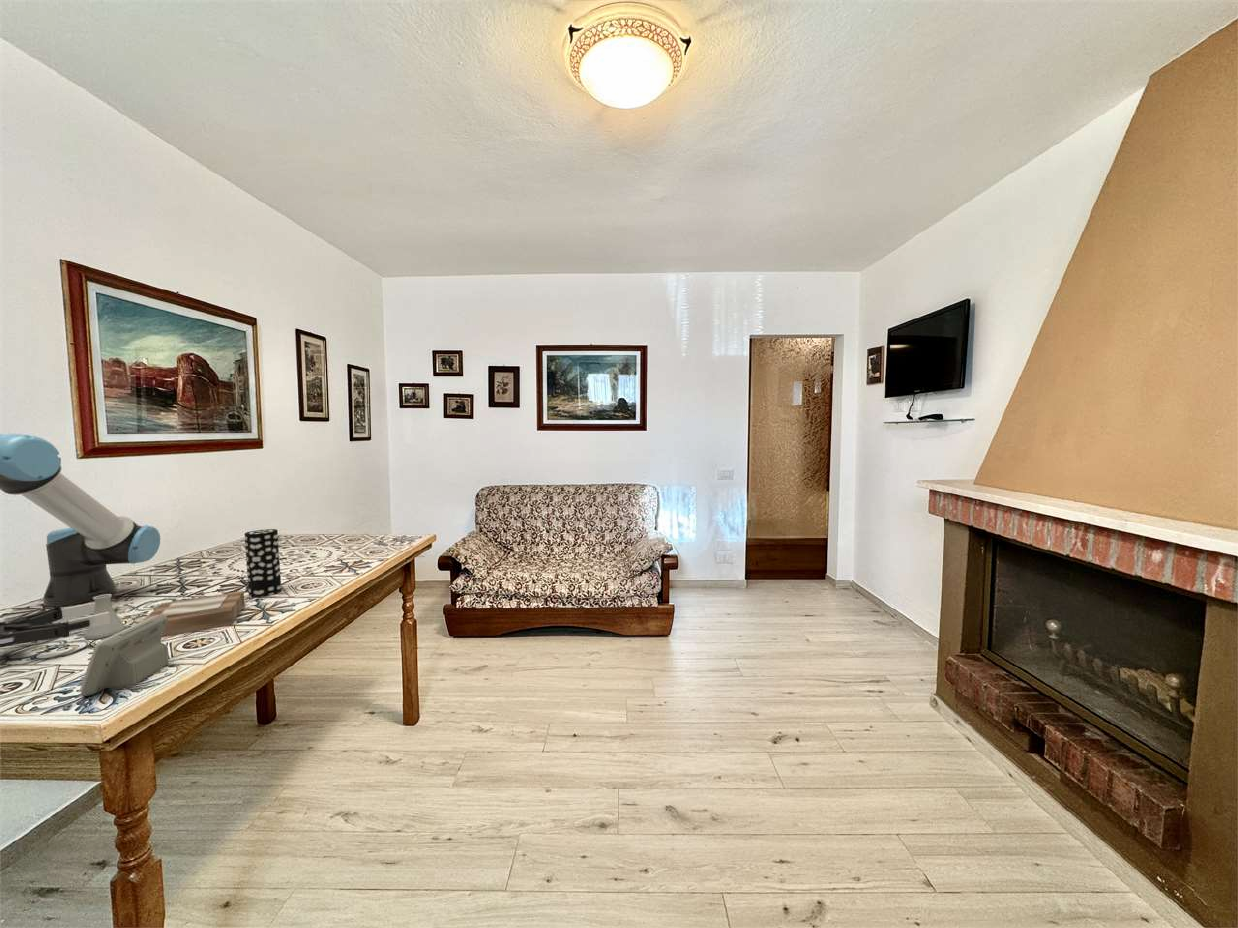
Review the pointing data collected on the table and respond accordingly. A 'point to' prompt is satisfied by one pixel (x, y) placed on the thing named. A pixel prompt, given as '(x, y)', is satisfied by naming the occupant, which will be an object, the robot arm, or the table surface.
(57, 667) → the table surface
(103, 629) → the flask
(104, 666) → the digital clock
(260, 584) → the white-spotted black cylinder
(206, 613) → the walnut plinth
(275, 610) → the table surface
